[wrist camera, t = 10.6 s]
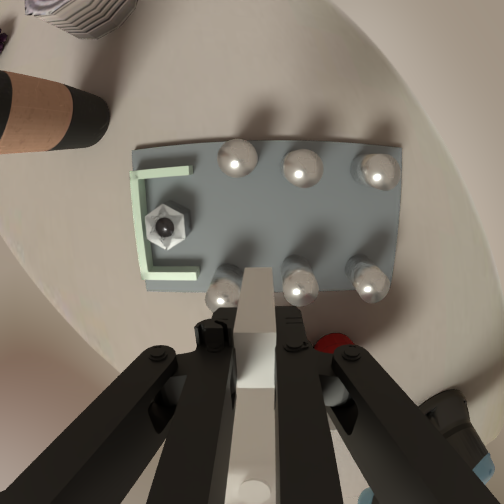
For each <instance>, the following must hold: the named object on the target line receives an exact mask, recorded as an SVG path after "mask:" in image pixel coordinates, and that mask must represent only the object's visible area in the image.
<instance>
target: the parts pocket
mask: <svg viewBox="0 0 504 504" xmlns="http://www.w3.org/2000/svg"><path fill="white" fill-rule="evenodd" d="M129 172H130V187H131V199H132V210H133V220H134V228H135V237H136V244H137V252H138V259H139V265H140V272H141V278H142V280H197V279H198V277H199V275H200V268H199V266H153V259H152V251H151V243H150V241H149V240H147V233H146V224H145V216H146V215H147V205H146V192H145V179H147V178H158V177H170V176H183V175H192V174H193V165H192V166H178V167H166V168H156V169H146V170H137V171H129Z"/></svg>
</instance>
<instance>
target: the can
mask: <svg viewBox="0 0 504 504" xmlns="http://www.w3.org/2000/svg"><path fill="white" fill-rule="evenodd" d="M136 4H137V0H25V15H34V16H35V17H37V18H39V19H41V20H43V21H45V22H47V23H50V24H52V25H54V26H56V27H58V28H60V29H62V30H64V31H66V32H68V33H70V34H71V35H73V36H75V37H77V38H79V39H99V38H101V37H102V36H104V35H106V34H108V33H110V32H112V31H113V30H115V29H117V28H119V27H120V26H121V25H122V23H123V22H124V21H125V20H126V19H127V18H128V16H129V15H130V14H131V13H132V12H133V11H134V10H135V9H136Z"/></svg>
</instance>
